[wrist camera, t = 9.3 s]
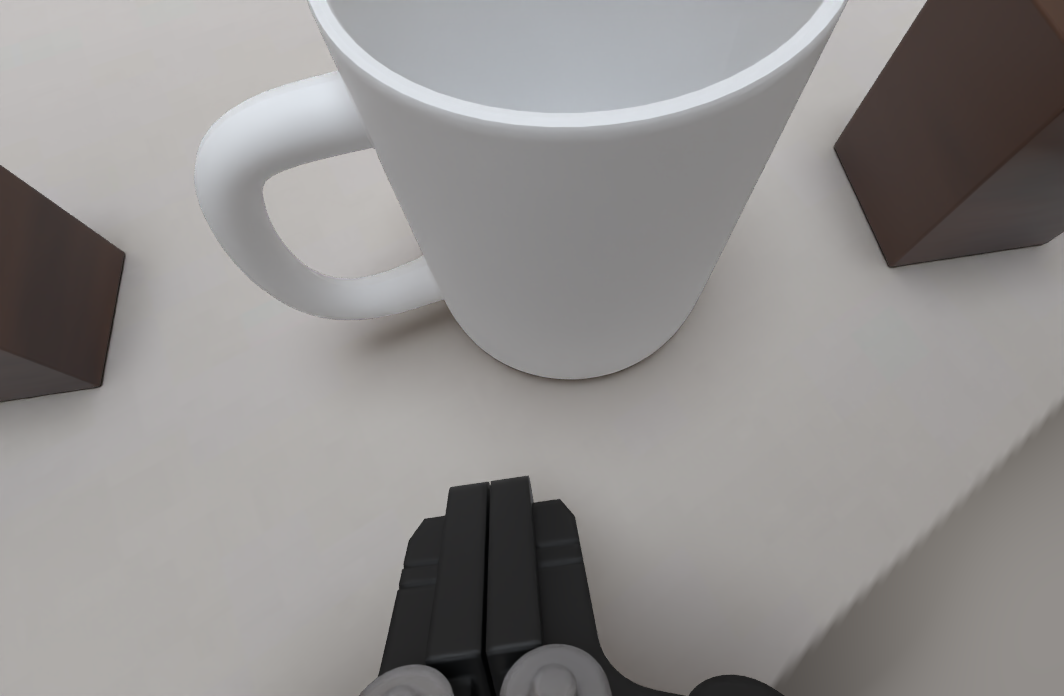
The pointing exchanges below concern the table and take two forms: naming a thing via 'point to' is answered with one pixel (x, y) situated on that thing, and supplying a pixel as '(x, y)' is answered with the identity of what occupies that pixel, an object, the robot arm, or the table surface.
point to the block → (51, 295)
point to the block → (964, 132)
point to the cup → (528, 160)
